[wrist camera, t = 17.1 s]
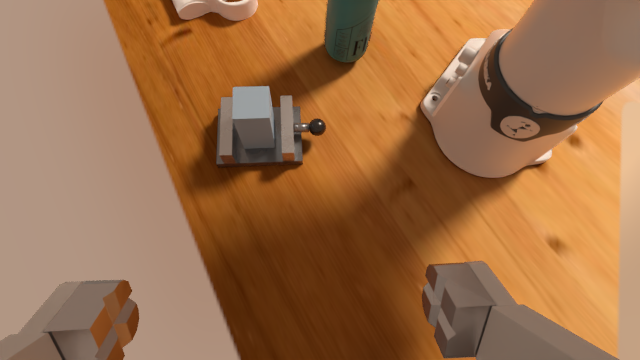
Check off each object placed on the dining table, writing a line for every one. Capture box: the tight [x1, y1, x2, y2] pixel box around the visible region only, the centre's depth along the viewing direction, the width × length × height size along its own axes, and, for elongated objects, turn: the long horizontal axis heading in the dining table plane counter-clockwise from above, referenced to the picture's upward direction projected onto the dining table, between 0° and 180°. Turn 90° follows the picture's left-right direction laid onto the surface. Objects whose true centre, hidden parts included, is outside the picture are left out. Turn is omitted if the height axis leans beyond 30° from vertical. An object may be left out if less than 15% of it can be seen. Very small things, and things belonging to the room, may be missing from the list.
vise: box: [216, 97, 303, 167], centre depth 44 cm, size 8×11×4 cm
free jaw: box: [280, 95, 326, 161], centre depth 44 cm, size 8×6×3 cm
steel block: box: [232, 86, 275, 149], centre depth 41 cm, size 4×4×8 cm
